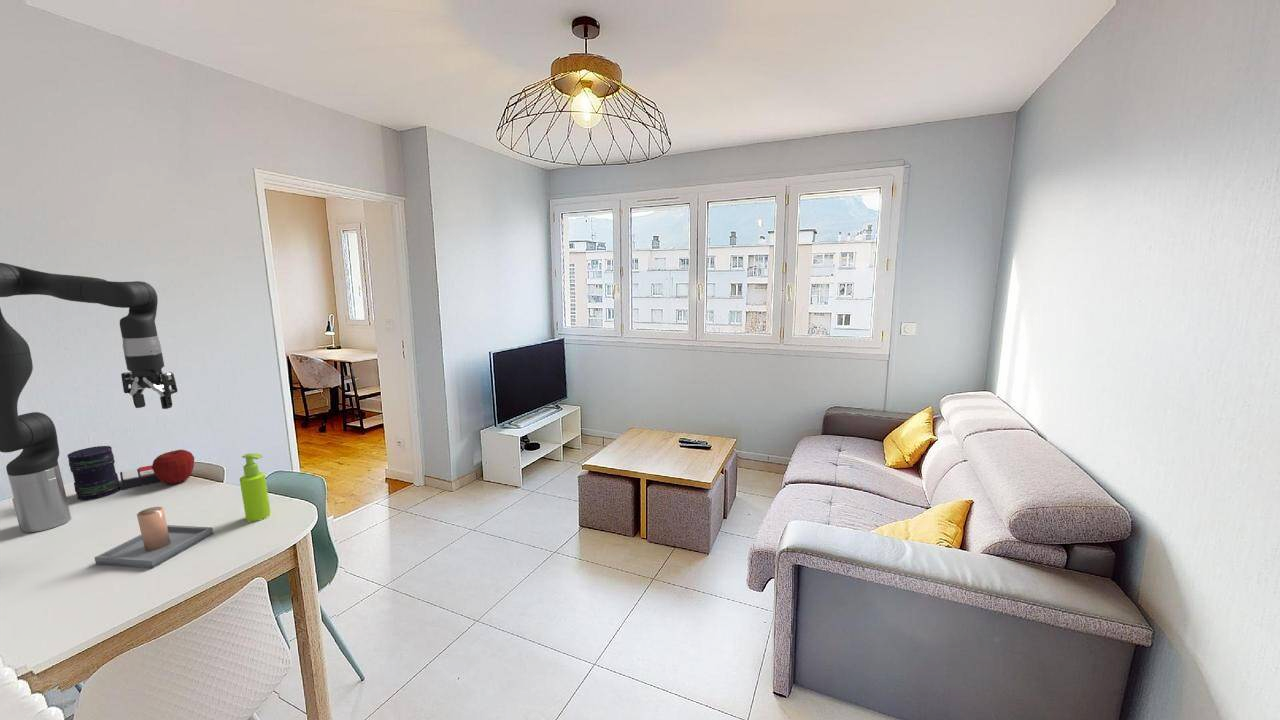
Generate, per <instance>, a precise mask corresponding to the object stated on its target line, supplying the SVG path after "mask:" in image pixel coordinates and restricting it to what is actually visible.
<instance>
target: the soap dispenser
mask: <svg viewBox="0 0 1280 720" xmlns="http://www.w3.org/2000/svg"><path fill="white" fill-rule="evenodd" d="M263 456H264V455H262V454H259V453H253V452H252V453H249V452H248V453H245V454H244V455H241V458H243V459H245V462H246V463H245V465H243V466H242V467H243V475H242V476H241V477H240V478H239V485H240V491H241V496H242V502H243V508H244V514H245V520H246V522H249V521H255V522H258V521H257V520H260V519H263V518H265V519H267V518H268V517H267V516H269V515H270V513H271V507H270V501H269V495H268V487H267V480H266V474H265V473H264V472H261V471H259V464H258V463H256V462H254V460H259V459H261V458H263ZM270 516H271V515H270ZM270 516H269V517H270ZM266 517H267V518H266ZM263 520H264V519H263ZM260 521H261V520H260Z"/></svg>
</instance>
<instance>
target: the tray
mask: <svg viewBox="0 0 1280 720" xmlns="http://www.w3.org/2000/svg"><path fill="white" fill-rule="evenodd" d="M167 527H168V532H169V536H170V541H171V542H170V544H168V545H167V546H165V547H163V548H160V549H157V550H152V551H146V550H145V548H144V544H143V540H142V535H141V534H138V535H137V536H135V537H133V538H130V539H129V540H127V541H125V542H123V543H120V544H119V545H117V546H115V547H113V548H110V549H109V550H107V551H104V552H103V553H100V554H98V555H97V556H94V562H95V565H96V566H97V565H98V566H115V567H129V568H131V567H133V568H143V569H144V568H146V569H155V568H157V567H158V566H159V565H161V564H163V563H165V562H167V561H168V560H170V559H172V558H174V557H176V556H177V555H179V554H181V553H182V552H185V551H186V550H188V549H189V548H191V547H193V546H195V545H197V544H198V543H200V542H202V541H204V540H206V539H207V538H209V537H211V536H213V535H214V534H215V533H214V529H213V527H211V526H210V527H208V526H195V525H194V526H193V525H191V526H190V525H174V524H171V525H170V524H167Z"/></svg>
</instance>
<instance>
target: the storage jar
mask: <svg viewBox="0 0 1280 720" xmlns="http://www.w3.org/2000/svg"><path fill="white" fill-rule="evenodd" d="M112 450H113V448H112V446H111V445H97V446H91V447H87V448H82V449H78V450H75V451H72V452H69V453H68V454H67V455H66V456H67V459H68V466H69V470H70V473H72V476H73V480H74V482H73V486H74V491H75V493H76V496H77V497H76V498H77V500H78V501H92V500H93V501H94V500H98V499H102V498H106V497H109V496H112V495H114V494H116V493H118V492H119V491H121V487H120V480H119V476H118V473H117V472H116V467H115V461H116V460H115V457H114V454H113V451H112Z"/></svg>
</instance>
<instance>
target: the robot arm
mask: <svg viewBox="0 0 1280 720" xmlns="http://www.w3.org/2000/svg"><path fill="white" fill-rule="evenodd" d="M26 295H28V296H29V295H30V296H31V295H33V296H34V295H38V296H39V295H40V296H50V297H53V298H58V299H60V300H66V301H70V302H78V303H86V304H87V303H88V304H99V305H103V306H108V307H112V308H122V309H124V308H126V309H127V308H128V313H127V315H126V316H123V317H122V318H120V320H119V328H120V335H121V338H122V339H121V340H122V348H123V349H122V350H123V354H124V359H125V365H126V369H127V372H122V373H121V374H120V375H121V383H122V389H123V393H124V394H129V395H130V396H132V401H133V406H134V407H135V408H136V409H140V408H144V407H146V401H145V395H144V393H143V392H144V391H145V389H151V390H153V391H154V392H157V394H158V395H159V399H160V404H161V409H162V410H168V409H171V408H172V407H173V400H172V395H173V394H175V393H178V387H177V382H176V378H175V376H174V375H175V374H174V373H173V372H171V371H170V372H166V373H164V372H163V370H162V369H163V368H164V367H165V361H164V357H163V352H162V346H161V342H160V340H159V336H158V332H157V325H156V323H155V322H156V317H157V311H158V303H159V301H158V294H157V291H156V289H155V288H154V287H153V286H152V285H151V284H150V283H148V282H145V281H137V280H136V281H135V280H134V281H110V280H106V279H104V278H100V277H99V278H98V277H94V276H92V277H91V276H81V275H73V274H72V275H71V274H59V273H50V272H43V271H40V270H39V271H38V270H35V269H31V268H26V267H23V266H22V267H21V266H18V265H14V264H10V263H5V262H0V298H8V297H9V298H10V297H13V296H26ZM33 367H34V366H33V359H32V354H31V349H30V346H29V344H28V343H27V341H26V339H24V337H22V336H21V334H20V333H18V331H17V330H16V329H15V328H13V326H11V325H10V323H8V321H7V320H6V319H5V317H4V315H3V313H2V310H1V308H0V452H1V453H6V454H7V453H13V452H17V451H21V450H22V451H21V452H20V453H19V455H17V456H16V457H15V458H13V459H12V460H11V461H9V462H8V463H7V465H6V466H5V469H6V473H7V476H8V480H9V484H10V487H11V492H12V496H13V497H12V504H13V507H14V512H15V515H16V519H17V522H18V526H19V527H18V528H19V529H20V530H21V531H22V532H24V533H34V532H35V533H37V532H41V531H46V530H50V529H54V528H56V527H59V526H62V525H64V524H66V523H68V522H69V521H70V520H71V519H72V516H71V512H70V507H69V502H68V498H67V494H66V490H65V485H64V482H63V478H62V477H63V476H62V473H61V469H60V465H59V461H58V460H59V457H60V448H59V447H60V446H59V442H58V441H59V440H58V434H57V429H56V426H55V423H54V422H53V420H52V418H51V417H49V416H48V414H45V413H43V412H39V411H35V412H33V411H32V412H27V413H24V414H19V412H18V411H19V410H18V402H19V399H20V395H21V394H22V391H23V390H24V388H25V386H26V385H27V383H28V381H29V380H30V377H31V376H32V373H33V370H34V368H33ZM170 387H171V389H170Z"/></svg>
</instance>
